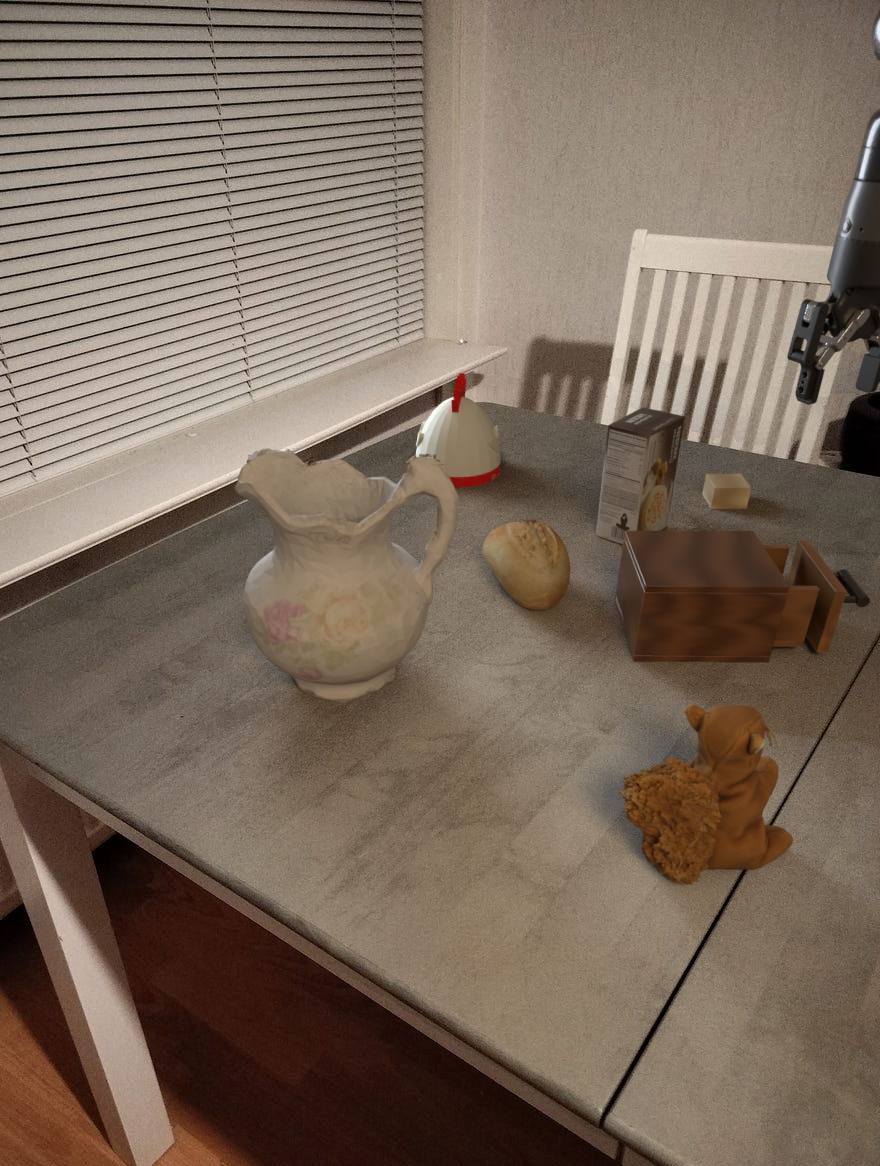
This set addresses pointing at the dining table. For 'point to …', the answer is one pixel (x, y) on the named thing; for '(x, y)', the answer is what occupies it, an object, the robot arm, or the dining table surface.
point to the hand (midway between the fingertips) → (835, 396)
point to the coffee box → (639, 473)
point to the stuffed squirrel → (709, 799)
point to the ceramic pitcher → (340, 569)
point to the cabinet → (699, 596)
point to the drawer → (812, 597)
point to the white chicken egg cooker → (461, 439)
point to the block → (726, 491)
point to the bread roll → (529, 562)
